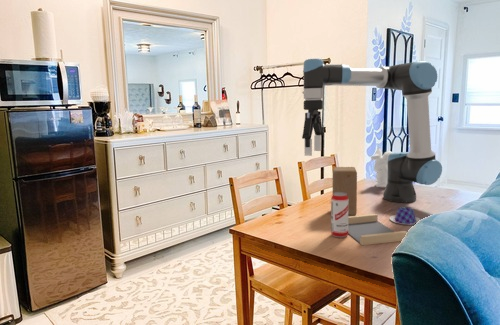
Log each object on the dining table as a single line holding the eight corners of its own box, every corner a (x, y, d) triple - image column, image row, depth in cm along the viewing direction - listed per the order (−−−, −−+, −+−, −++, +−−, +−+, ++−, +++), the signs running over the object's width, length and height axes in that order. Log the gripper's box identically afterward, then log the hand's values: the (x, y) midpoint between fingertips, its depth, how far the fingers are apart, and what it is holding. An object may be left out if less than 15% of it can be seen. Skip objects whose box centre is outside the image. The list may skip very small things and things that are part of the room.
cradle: (375, 220, 152) (375, 213, 152) (406, 240, 131) (407, 232, 130) (336, 224, 149) (336, 217, 149) (362, 245, 128) (362, 237, 128)
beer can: (329, 232, 141) (328, 192, 138) (345, 231, 141) (345, 191, 139) (334, 238, 135) (334, 196, 132) (350, 237, 135) (351, 195, 133)
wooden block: (356, 216, 159) (357, 170, 155) (332, 215, 161) (332, 170, 157) (354, 209, 168) (355, 166, 165) (332, 209, 170) (332, 166, 167)
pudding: (423, 227, 144) (424, 214, 143) (390, 225, 147) (391, 212, 146) (419, 217, 155) (419, 205, 154) (388, 215, 159) (389, 204, 158)
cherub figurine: (395, 187, 205) (397, 148, 201) (376, 189, 202) (377, 150, 198) (382, 182, 217) (383, 145, 213) (363, 184, 213) (364, 147, 209)
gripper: (312, 99, 158) (312, 148, 161) (293, 100, 136) (294, 157, 139) (330, 99, 154) (329, 149, 158) (313, 99, 132) (313, 158, 136)
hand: (313, 153), depth 149 cm, fingers open, 13 cm apart
